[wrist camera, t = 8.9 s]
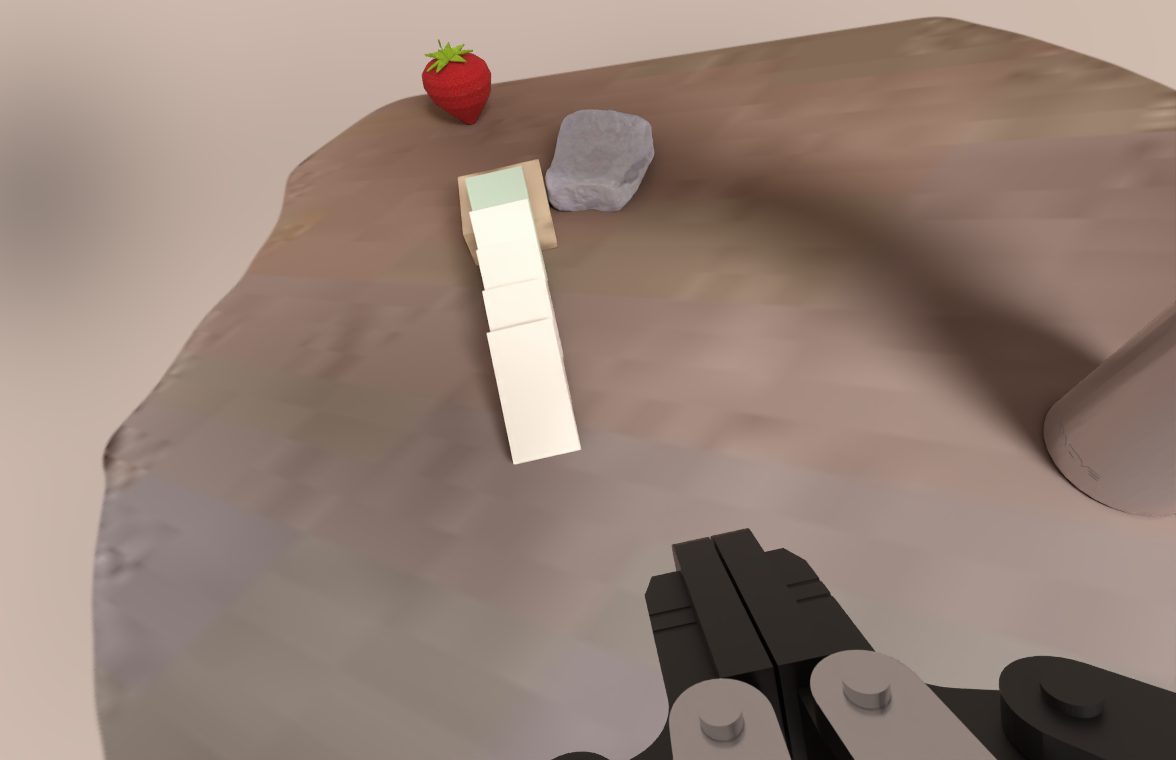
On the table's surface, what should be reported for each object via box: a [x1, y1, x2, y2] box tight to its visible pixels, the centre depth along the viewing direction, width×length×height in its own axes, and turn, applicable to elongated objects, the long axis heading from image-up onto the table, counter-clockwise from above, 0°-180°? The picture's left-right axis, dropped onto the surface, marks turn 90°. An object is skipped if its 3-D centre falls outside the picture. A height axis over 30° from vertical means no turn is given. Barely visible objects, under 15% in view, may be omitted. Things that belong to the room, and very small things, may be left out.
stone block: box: [545, 109, 654, 212], centre depth 58 cm, size 12×5×10 cm
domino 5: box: [487, 318, 581, 465], centre depth 43 cm, size 2×5×10 cm
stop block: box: [458, 159, 558, 265], centre depth 55 cm, size 8×8×4 cm
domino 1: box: [465, 166, 548, 282], centre depth 50 cm, size 2×5×10 cm
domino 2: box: [469, 199, 555, 315], centre depth 49 cm, size 2×5×10 cm
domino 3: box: [476, 236, 564, 358], centre depth 47 cm, size 2×5×10 cm
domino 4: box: [482, 278, 572, 404], centre depth 45 cm, size 2×5×10 cm
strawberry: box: [422, 40, 491, 124], centre depth 62 cm, size 6×8×10 cm
